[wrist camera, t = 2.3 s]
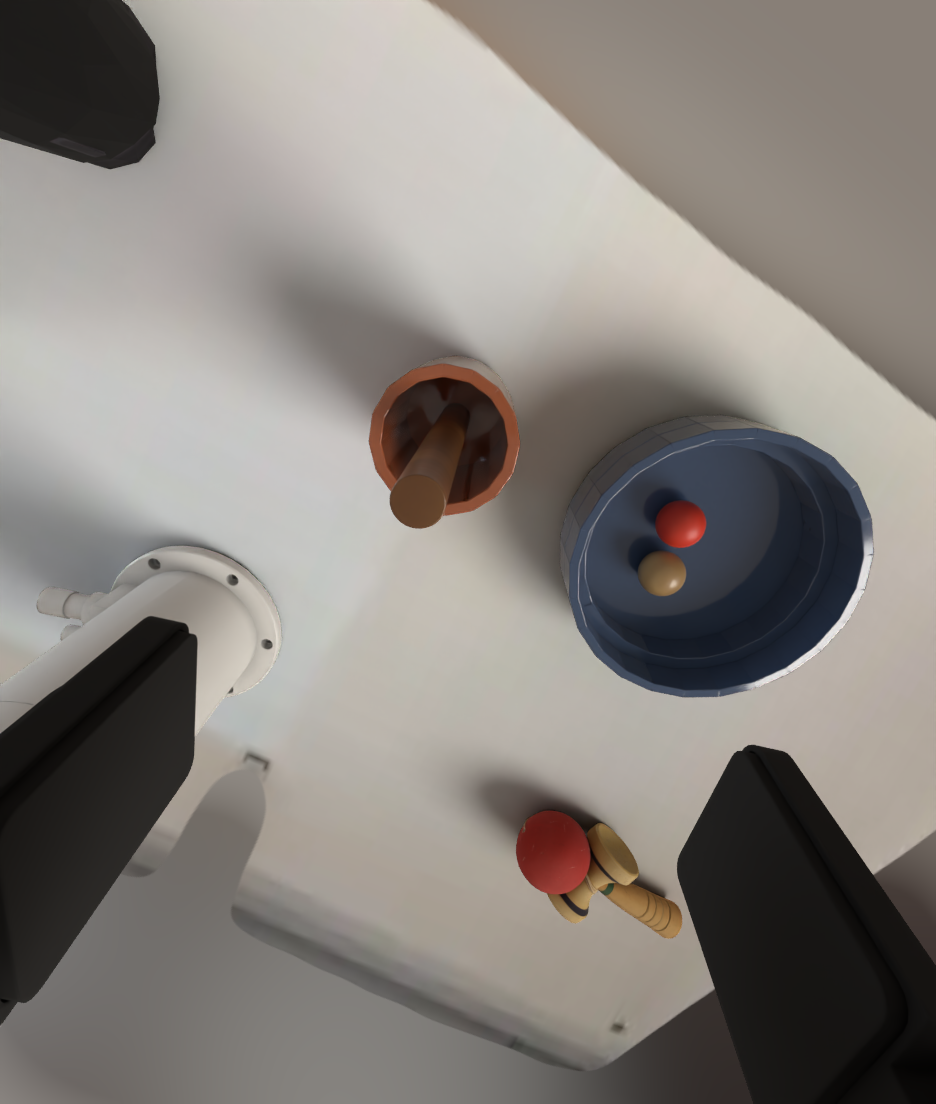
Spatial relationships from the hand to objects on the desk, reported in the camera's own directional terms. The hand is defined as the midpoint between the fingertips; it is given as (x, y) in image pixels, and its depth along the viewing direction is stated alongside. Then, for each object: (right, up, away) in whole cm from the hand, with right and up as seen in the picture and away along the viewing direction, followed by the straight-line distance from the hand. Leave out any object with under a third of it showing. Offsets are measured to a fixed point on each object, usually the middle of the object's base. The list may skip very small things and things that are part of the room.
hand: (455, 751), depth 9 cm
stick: (-1, +12, +24) cm, 27 cm away
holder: (0, +12, +25) cm, 28 cm away
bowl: (+15, +4, +27) cm, 32 cm away
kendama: (+12, -24, +39) cm, 47 cm away
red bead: (+14, +5, +25) cm, 29 cm away
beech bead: (+13, +2, +26) cm, 29 cm away
